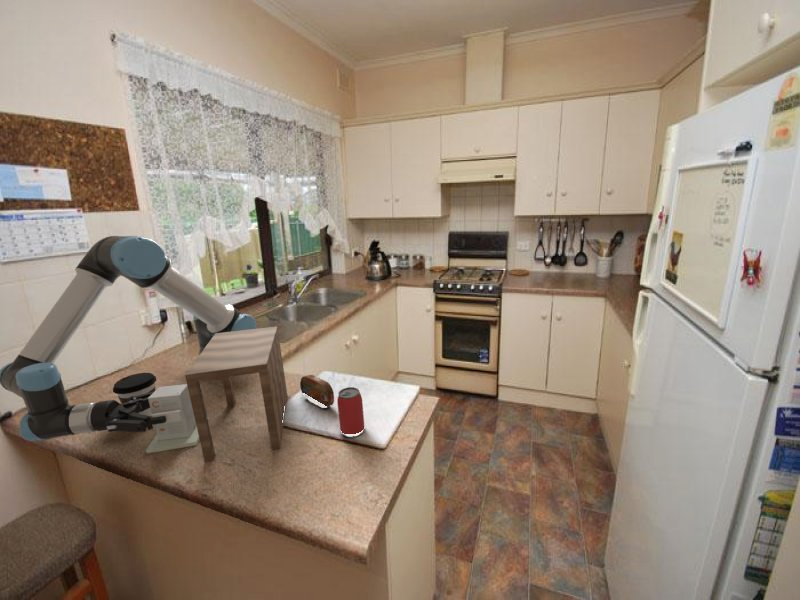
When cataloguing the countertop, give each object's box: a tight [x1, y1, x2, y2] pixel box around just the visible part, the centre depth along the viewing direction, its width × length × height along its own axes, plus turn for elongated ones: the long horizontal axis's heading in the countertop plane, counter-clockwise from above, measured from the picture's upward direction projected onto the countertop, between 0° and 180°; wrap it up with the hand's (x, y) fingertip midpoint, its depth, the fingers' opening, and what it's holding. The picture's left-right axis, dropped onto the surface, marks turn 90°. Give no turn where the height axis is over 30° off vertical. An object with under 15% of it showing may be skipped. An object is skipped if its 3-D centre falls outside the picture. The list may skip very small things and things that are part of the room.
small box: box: [148, 383, 197, 440], centre depth 101 cm, size 8×6×13 cm
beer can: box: [336, 386, 365, 434], centre depth 99 cm, size 7×7×12 cm
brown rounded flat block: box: [299, 374, 335, 408], centre depth 115 cm, size 15×3×8 cm, turn 47°
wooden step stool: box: [184, 326, 288, 463], centre depth 103 cm, size 28×18×24 cm, turn 13°
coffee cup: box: [112, 372, 157, 417], centre depth 112 cm, size 11×11×12 cm
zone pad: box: [146, 416, 210, 454], centre depth 102 cm, size 12×12×1 cm
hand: (188, 403), depth 101 cm, fingers open, 11 cm apart
